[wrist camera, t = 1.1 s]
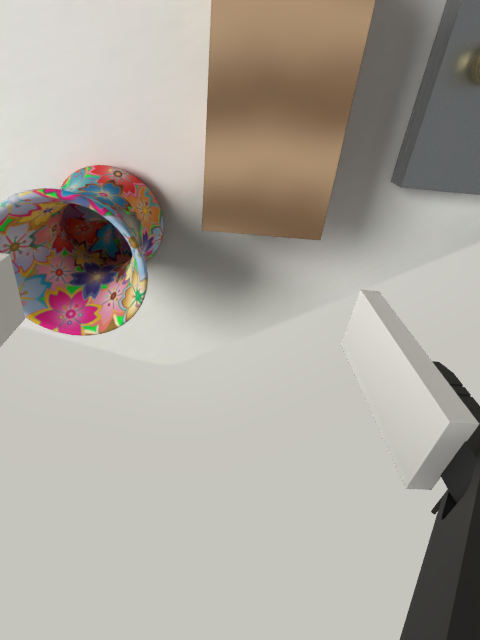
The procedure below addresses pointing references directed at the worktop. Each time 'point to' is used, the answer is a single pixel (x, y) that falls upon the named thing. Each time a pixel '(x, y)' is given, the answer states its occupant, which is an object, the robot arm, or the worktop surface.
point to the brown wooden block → (278, 111)
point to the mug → (82, 249)
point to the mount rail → (447, 110)
